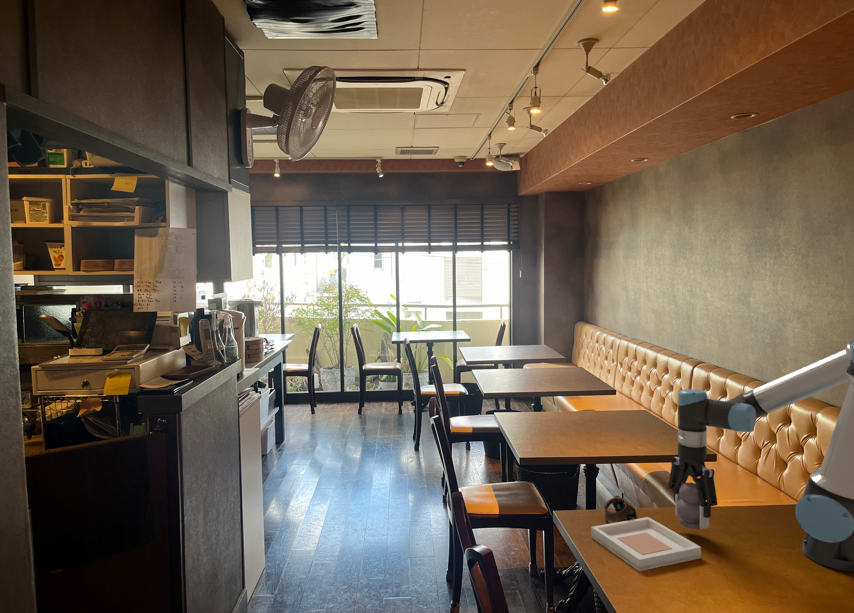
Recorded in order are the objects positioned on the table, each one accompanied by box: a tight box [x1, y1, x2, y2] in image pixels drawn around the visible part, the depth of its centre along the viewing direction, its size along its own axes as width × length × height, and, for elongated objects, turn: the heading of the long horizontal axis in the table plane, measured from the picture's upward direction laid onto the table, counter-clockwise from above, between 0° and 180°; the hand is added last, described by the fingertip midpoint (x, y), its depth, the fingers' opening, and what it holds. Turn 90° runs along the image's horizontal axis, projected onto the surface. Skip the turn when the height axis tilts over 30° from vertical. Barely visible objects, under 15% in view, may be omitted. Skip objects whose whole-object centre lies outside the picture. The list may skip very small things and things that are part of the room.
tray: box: [590, 516, 702, 572], centre depth 156 cm, size 20×20×3 cm
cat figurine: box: [677, 481, 702, 530], centre depth 163 cm, size 8×8×12 cm
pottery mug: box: [603, 495, 639, 522], centre depth 174 cm, size 12×10×8 cm
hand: (691, 521), depth 164 cm, fingers closed on cat figurine, 8 cm apart
